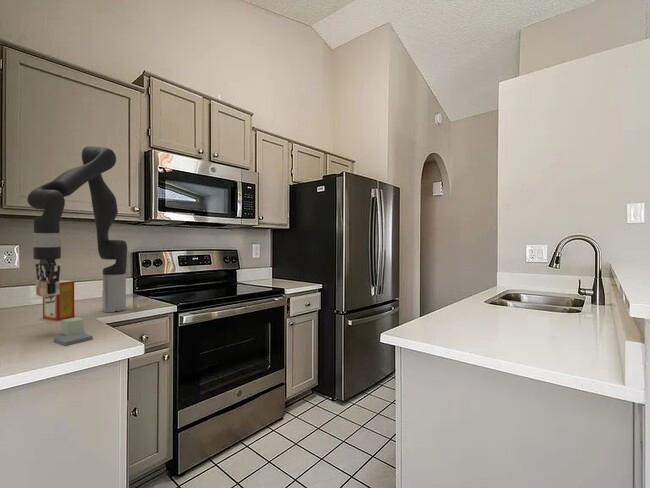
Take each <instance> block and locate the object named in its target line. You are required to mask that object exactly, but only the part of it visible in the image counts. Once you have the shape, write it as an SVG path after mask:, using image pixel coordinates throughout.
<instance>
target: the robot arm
mask: <svg viewBox="0 0 650 488" xmlns="http://www.w3.org/2000/svg"><path fill="white" fill-rule="evenodd" d="M81 160H82V161H81V162H82V165H79V166H76V167H74V168H70V169H68V170H66V171H65V172H63V173H62V174H60V175H58V176H57V177H56V178H55V179H53V180H52V181H50V182H47V183H44V184H42V185H39V186H38V187H36V188H34V189H33V190H31V191H30V192H29V194H28V195H27V203H28V205H29V206H30V207H32V208H33V209H35V210H43V213H42V215H39V216H36V217H35V218H34V220H33V238H32V241H33V242H32V245H33V246H32V248H33V249H32V250H33V251H32V252H33V255H32V256H33V257H32V258H33V259H34V260H38V261H39V263H35V266H34V267H35V272H36V273H35V274H36V281H43V280H47V293H48V294H54V293H56V283H57V282H58V281H59V280H60V274H61V265H57V263H56V260H58V259H61V258H62V249H61V248H62V247H61V245H62V241H61V240H62V239H61V234H60V221H61V219H62V216H63V213H64V209H65V207H66V205H65V204H66V202H65V197H68V196H70V195H72V194H73V193H75V192H76V191H77V190H78V189H79V188H81V187H82V186H84V184H87V183H88V187H89V193H90V199H91V205H92V206H91V207H92V212H93V216H94V221H95V222H94V223H95V229H96V239H97V253H98V256H99V257H100V259H102V260H105V261H106V260H107V261H108V260H114V261H115V262H114V264H112V265H109V266H107V267H103V269H102V294H101V295H102V296H101V298H102V305H101V306H102V308H101V309H102V312H104V313H116V312H115V311H118V312H122V311H121V310H123V311H125V310H126V309H127V282H126V281H127V265H128V264H127V260H128V244H127V242H126V240H123V239H109V231H110V228H111V227H112V224H113V223H114V221H115V219H116V218H117V215H118V213H119V212H118V203H117V199H116V198H117V197H116V196H115V194H114V193H113V192H112V190H111V189H110V188H109V186H108V184H106V182H105V180H104V178H103V175H102V174H103V173H105V172H107V171H109V170H111V169H113V168H114V167H115V165H116V163H117V156H116V153H115V152H114V151H113V149H111V148H108V147H104V146H92V145H88V146H87V145H86V146H85V147H83V149H82V151H81Z"/></svg>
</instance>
